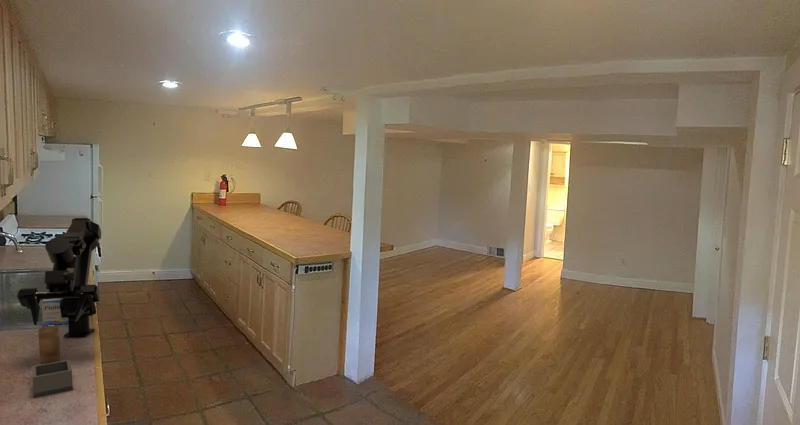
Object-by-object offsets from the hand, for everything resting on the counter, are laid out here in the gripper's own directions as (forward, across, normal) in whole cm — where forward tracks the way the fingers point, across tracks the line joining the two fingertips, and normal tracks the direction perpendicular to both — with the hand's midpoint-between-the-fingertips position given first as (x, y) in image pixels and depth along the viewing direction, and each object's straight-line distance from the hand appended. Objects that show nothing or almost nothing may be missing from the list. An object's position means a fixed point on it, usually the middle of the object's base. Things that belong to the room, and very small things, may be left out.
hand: (55, 323), depth 141 cm
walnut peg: (+13, 0, +4) cm, 14 cm away
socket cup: (+18, +2, -1) cm, 18 cm away
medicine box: (-19, -9, +37) cm, 43 cm away
